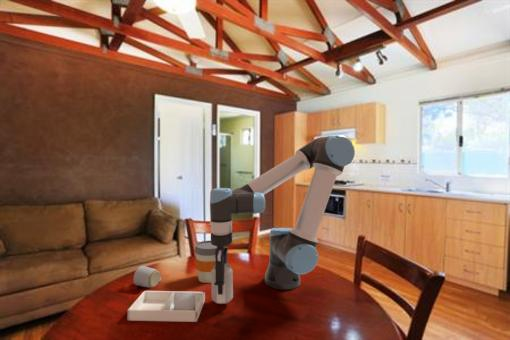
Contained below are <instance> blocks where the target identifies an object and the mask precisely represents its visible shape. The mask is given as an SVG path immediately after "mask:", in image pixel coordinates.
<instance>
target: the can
mask: <svg viewBox="0 0 510 340" xmlns="http://www.w3.org/2000/svg"><path fill="white" fill-rule="evenodd" d="M231 267H232V266H231V265H230V264H229V263H228V264H224V283H225V303H217V289H216V285H214V283H216V265H215V266H213V270H212V271H211V283H210V284H211V300H212V301H213V302H214V303H215V304H219V305H223V304H228V303H229V302H230V301H232V300H233V298H234V286H233V285H234V282H233V281H234V279H233V277H234V276H233V275H234V274H233V273H234V271H233V268H231Z"/></svg>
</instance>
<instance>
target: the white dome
mask: <svg viewBox="0 0 510 340" xmlns="http://www.w3.org/2000/svg"><path fill="white" fill-rule="evenodd" d="M174 310H188V311H195V296H194V295H193V294H180V295H178V296H176V297H175V298H174Z"/></svg>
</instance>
